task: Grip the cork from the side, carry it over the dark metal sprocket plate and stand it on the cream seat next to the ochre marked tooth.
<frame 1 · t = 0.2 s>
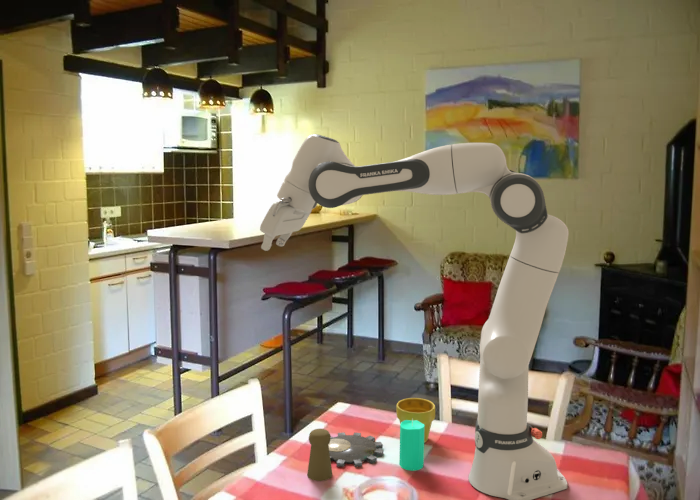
hand: (272, 247, 147), 53 cm above the table, tool tilted 25°, fingers open, 8 cm apart
cork: (319, 475, 144), on the table
candle: (411, 465, 149), on the table
plant pot: (415, 440, 163), on the table
sprocket plate: (349, 450, 156), on the table
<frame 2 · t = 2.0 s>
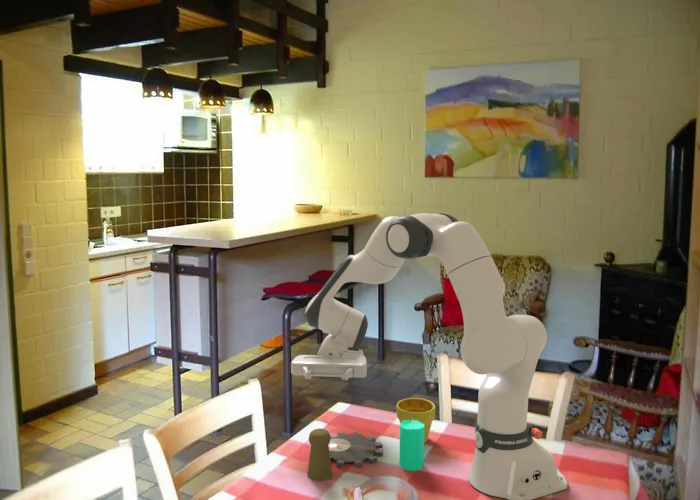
hand: (325, 376, 153), 20 cm above the table, tool horizontal, fingers open, 8 cm apart
nothing on the table moved.
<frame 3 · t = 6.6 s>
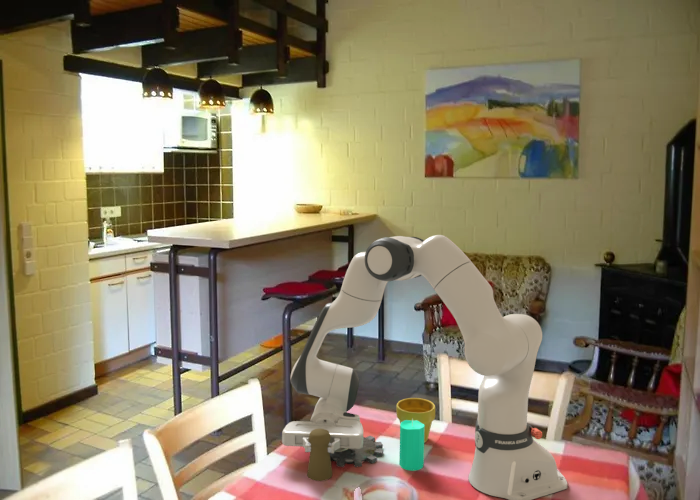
hand: (319, 450, 142), 7 cm above the table, tool horizontal, fingers closed on cork, 4 cm apart
cork: (319, 475, 144), on the table, touching gripper
everything else where it was.
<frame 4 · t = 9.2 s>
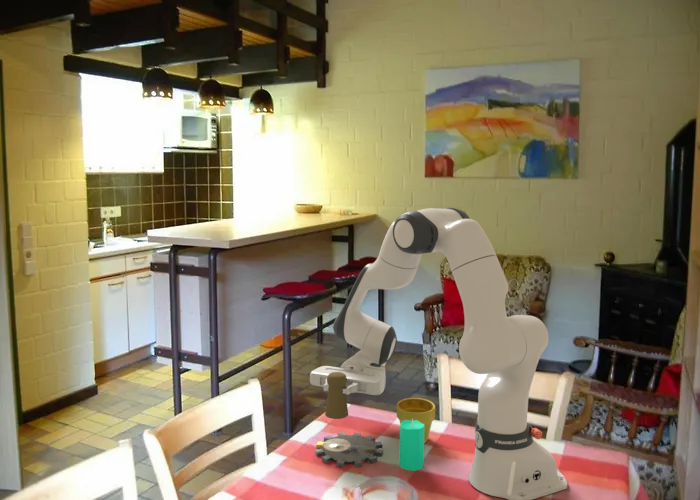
hand: (335, 390, 154), 16 cm above the table, tool horizontal, fingers closed on cork, 4 cm apart
cork: (336, 414, 156), point 9 cm above the table, touching gripper
everything else where it was.
when the fingers open (8 cm above the table, at t = 12.0 s): cork moves 2 cm, point 1 cm above the table.
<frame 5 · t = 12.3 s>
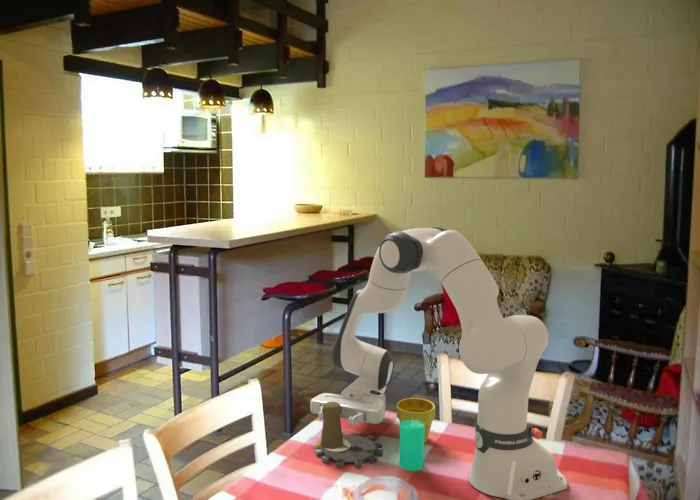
hand: (335, 419, 155), 9 cm above the table, tool horizontal, fingers open, 7 cm apart
cork: (331, 444, 157), point 1 cm above the table, touching gripper
everything else where it was.
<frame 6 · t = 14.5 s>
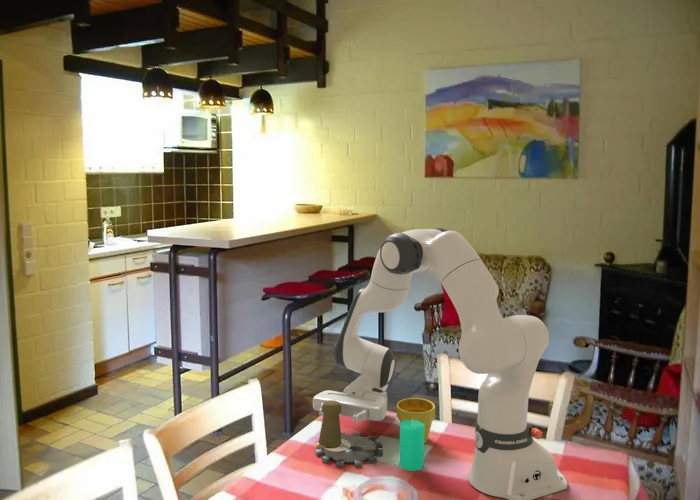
hand: (338, 416, 157), 9 cm above the table, tool horizontal, fingers open, 8 cm apart
cork: (330, 443, 158), point 1 cm above the table, touching sprocket plate
everything else where it was.
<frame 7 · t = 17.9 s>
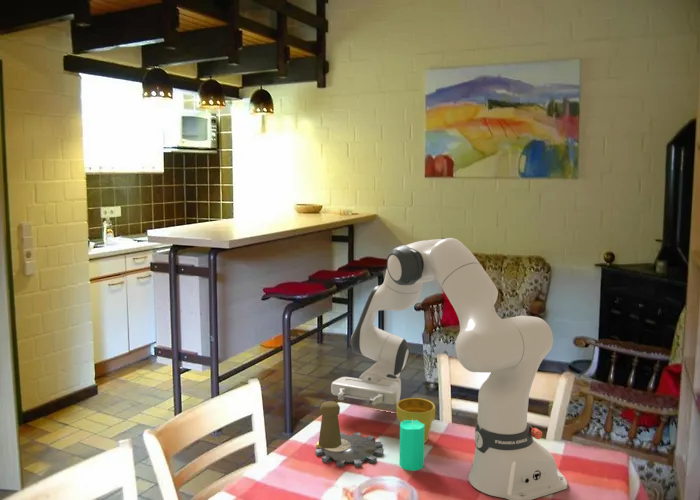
hand: (355, 399, 168), 9 cm above the table, tool horizontal, fingers open, 8 cm apart
nothing on the table moved.
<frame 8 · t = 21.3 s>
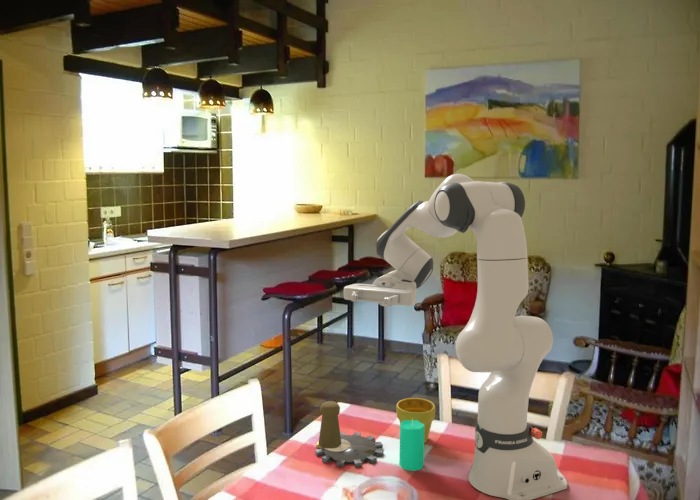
hand: (369, 300, 160), 38 cm above the table, tool horizontal, fingers open, 8 cm apart
nothing on the table moved.
at the end: cork 2.0 cm from the target spot on the sprocket plate, point 1.0 cm above the sprocket plate's base; cork tilted 0°; the gripper is holding nothing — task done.
